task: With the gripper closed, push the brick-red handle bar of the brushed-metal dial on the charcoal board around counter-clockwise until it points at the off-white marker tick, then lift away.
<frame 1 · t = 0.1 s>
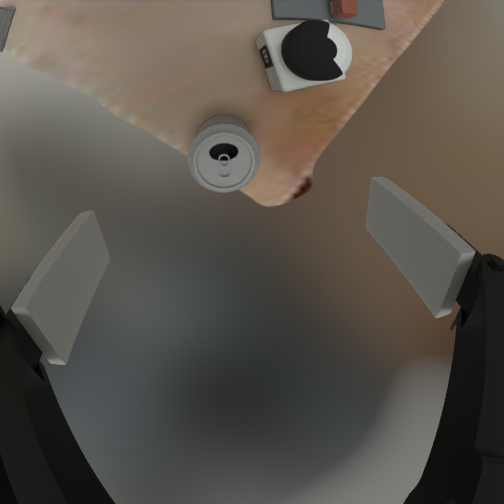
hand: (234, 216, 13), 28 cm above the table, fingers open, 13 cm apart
can: (222, 140, 37), on the table
container: (290, 59, 32), on the table
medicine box: (2, 31, 20), on the table
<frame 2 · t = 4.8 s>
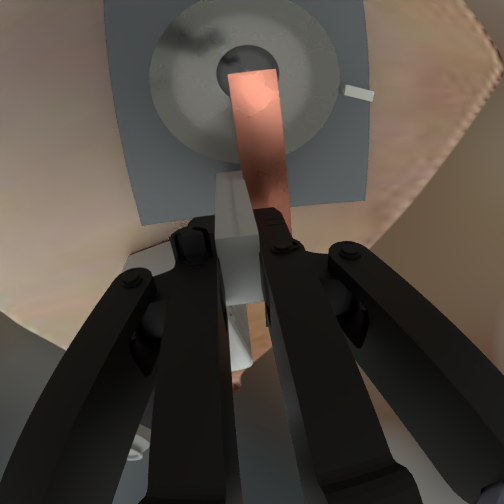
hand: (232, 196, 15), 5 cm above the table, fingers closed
plate: (242, 76, 16), on the table
can: (128, 357, 30), on the table
container: (188, 275, 24), on the table
dial: (252, 110, 13), point 4 cm above the table, hinge at 2.6°, touching gripper
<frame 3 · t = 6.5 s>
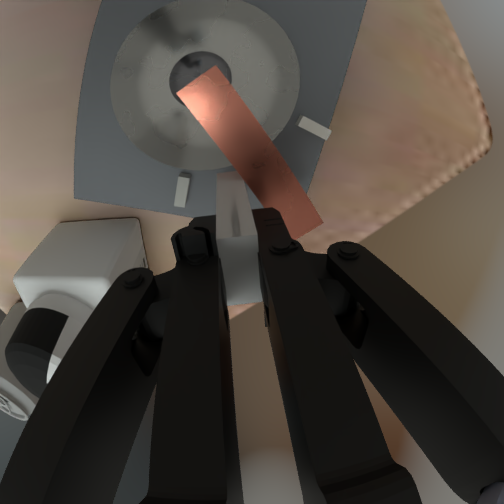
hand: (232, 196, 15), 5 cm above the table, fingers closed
plate: (207, 81, 16), on the table
can: (39, 320, 26), on the table
container: (106, 258, 22), on the table
dial: (224, 110, 13), point 4 cm above the table, hinge at 48.4°, touching gripper
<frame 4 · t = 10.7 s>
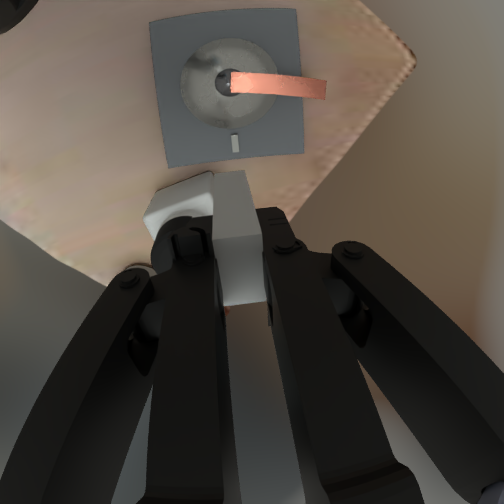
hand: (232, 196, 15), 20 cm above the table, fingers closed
plate: (228, 83, 29), on the table
container: (193, 206, 37), on the table
dial: (250, 83, 25), point 4 cm above the table, hinge at 82.8°
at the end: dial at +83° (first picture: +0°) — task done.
